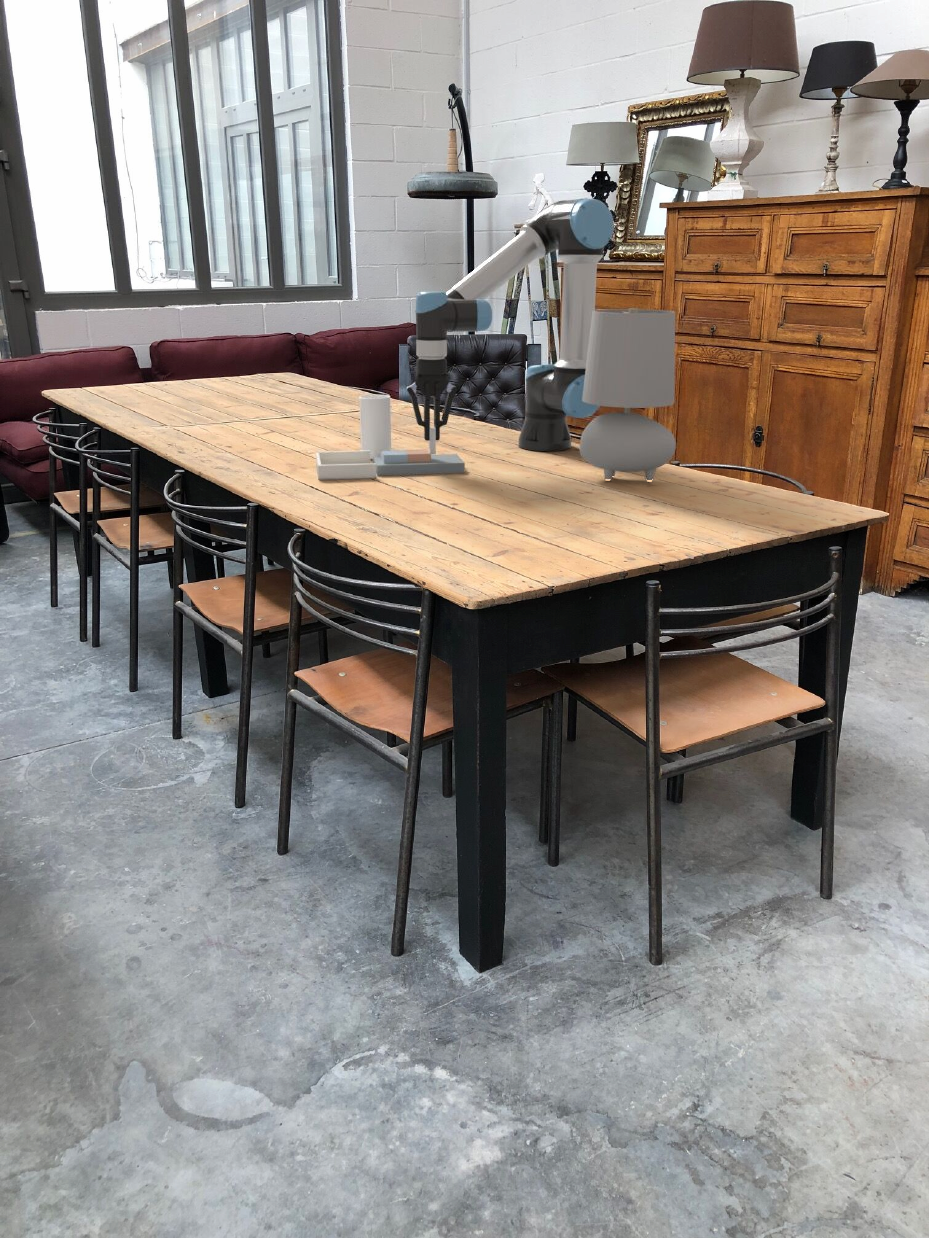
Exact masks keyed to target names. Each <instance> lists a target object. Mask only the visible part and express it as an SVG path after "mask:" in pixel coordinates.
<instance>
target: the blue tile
mask: <svg viewBox="0 0 929 1238" xmlns="http://www.w3.org/2000/svg"><path fill="white" fill-rule="evenodd" d="M405 450H406V449H401V450H400V449H395V450H393V449H391V450H390V451H381V459H382V461H383V463H405V462H408V454H407V453H406V452H405Z"/></svg>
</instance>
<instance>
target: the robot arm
mask: <svg viewBox="0 0 929 1238" xmlns="http://www.w3.org/2000/svg"><path fill="white" fill-rule="evenodd" d="M614 222H615V221H614V217H613V214H612V212H611V210H610V209H609V207H607V205H606V204H605V203H604V202H603V201H601V200H599V199H595V198H588V197H587V198H586V197H584V198H578V199H569V200H568V199H567V200H566V199H565V200H558V201H555V202H553V203H552V204H549V205H548V206H547V207H545V208H544V209H542V210H541V211H539V212H538V213H536V215H535V216H533V217H531V219H529V220H528V221H527V222H526V223H525V224H523V225H522V226H521V227H520V228H519V234H517V235H516V236H515V237H514V238H513V239H511V240H510V241H509V242H507V243H506V244H505V245H504V246H502V247H501V248H500V249H499V250H497V251H496V252H495V253H494V254H492V255H491V256H490V257H489V258H487V259H486V260H485V261H484V262H482V263H481V264H480V265H479V266H478V267H476V268H475V269H474V270H473V271H471V272H470V273H468V274H467V275H466V276H465V277H464V278H463V279H462V280H460V281H459V282H458V283H456V284H455V285H454V286H453V287H452V288H450V289H448V290H447V291H446V292H445V291H420V292H418V293H417V295H416V298H415V299H416V300H415V309H414V310H415V311H414V312H415V326H416V328H415V332H416V337H415V338H416V340H415V341H416V342H415V343H416V351H415V352H416V356H417V357H418V358H417V359H416V362H415V363H416V377H415V378H414V382H413V383H412V384H411V385H408V386H406V387H405V390H406V392H407V393H408V394H409V397H410V400H411V404H412V409H413V412H414V416H415V419H416V424H417V425H418V426H421V427H423V431H424V432H423V434H424V436H423V437H424V440H425V442H428V445H427V446H428V447H427V448H428V450H429V452H430V453H431V455H437V453H436V451H437V448H436V447H437V445H436V444H437V443H436V442H437V441H440V437H441V427H443V426H447V424H448V422H449V416H450V412H451V408H452V404H453V399H454V396H455V395H456V393H457V392H458V387H457V386H455V385H453V384H451V383H450V380H449V378H448V360H447V358H446V357H447V355H448V344H447V343H448V341H447V339H448V333H453V332H456V333H457V332H459V333H460V332H463V333H464V332H465V333H466V332H476V333H477V332H484V331H487V330H488V329H489V328H490V327H491V324H492V322H493V309H492V306H491V304H490V302H488V301H487V300H486V299H488V298H489V297H490V296H491V295H493V293H495V292H496V291H497V290H498V289H500V288H502V286H504V285H505V284H506V283H507V282H509V281H510V280H511V279H512V278H513V277H515V276H516V275H517V274H518V273H520V272H522V270H523V269H525V267H527V266H528V265H530V264H531V263H532V262H533V261H535V260H536V259H538V260H542V259H544V257H545V256H547V255H549V254H550V253H552V252H554V251H558V252H557V256H558V258H559V259H560V260H561V262H562V263H563V269H562V270H563V272H562V273H563V274H562V298H561V299H562V300H561V319H560V321H561V322H560V323H561V325H560V344H559V345H560V346H559V347H560V350H559V359H558V360H557V361H556V362H555V363H554V364H553V363H550V364H549V363H548V364H538V365H537V364H536V365H530V366H528V367H527V370H526V375H525V383H526V384H525V413H524V414H525V417H524V418H525V419H524V422H523V425H522V427H521V431H520V434H519V437H518V444H517V445H518V447H519V448H520V449H523V450H528V451H538V452H555V451H556V452H559V451H564V450H570V449H571V448H572V437H571V433H570V429H569V426H568V422H567V416H568V417H570V418H577V419H578V418H581V419H583V418H588V417H590V416H592V415H594V414H595V413H596V412H597V410H599V408H600V407H601V406H599V405H593V404H588V403H585V402H583V401H582V396H583V388H584V379H585V371H586V362H587V354H588V346H589V337H590V329H591V321H592V312H593V310H596V296H597V295H596V293H597V276H598V275H597V274H598V273H597V271H598V270H597V269H598V263H599V262H600V261H601V259H603V257H604V253H605V251H604V249H605V246H607V244H609V241H610V240H611V239H612V237H613V234H614V228H615V223H614ZM417 389H418V390H419V391H420V393H421V394H422V395H423V418H422V414H421V410H420V406H419V402H418V401H419V400H418V398H417V395H416V393H417ZM445 390H446V392H447V393H446V396H445V397H446V399H445V403H444V406H443V410H442V415H441V395H442V394H443V393H444V391H445ZM431 397H433V426H431Z"/></svg>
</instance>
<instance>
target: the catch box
mask: <svg viewBox="0 0 929 1238" xmlns="http://www.w3.org/2000/svg"><path fill="white" fill-rule="evenodd" d="M315 464H316V465H315V466H316V471H317V479H318V480H319V481H326V480H327V481H329V480H361V479H365V480H367V479H377V474H376V463H373V462H372V463H371V459H370V450H366V451H361V450H338V451H336V450H334V451H331V450H330V451H315Z"/></svg>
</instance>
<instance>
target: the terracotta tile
mask: <svg viewBox="0 0 929 1238" xmlns="http://www.w3.org/2000/svg"><path fill="white" fill-rule="evenodd" d="M404 450H405V452H406V453H407V454H408V462H431V455H432V454H431V453H430V452H429V448H426V449H425V448H424V449H419V448H418V449H404Z"/></svg>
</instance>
